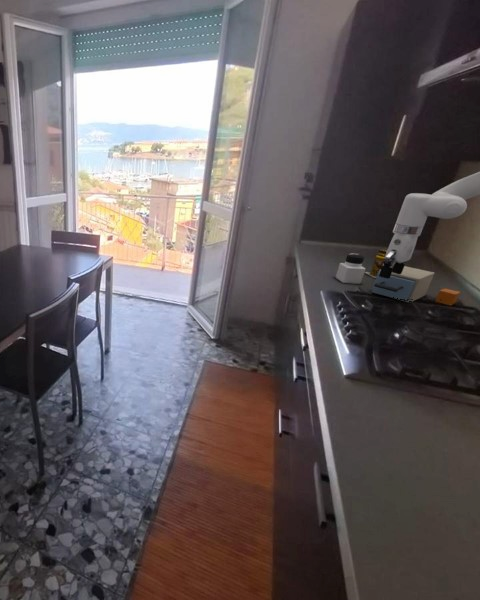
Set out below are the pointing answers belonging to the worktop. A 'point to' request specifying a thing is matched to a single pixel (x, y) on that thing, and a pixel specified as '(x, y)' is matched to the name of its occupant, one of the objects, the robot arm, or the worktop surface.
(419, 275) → the small drawer box
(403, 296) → the blue drawer
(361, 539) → the worktop surface
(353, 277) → the medicine bottle
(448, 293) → the orange cube
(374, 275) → the condiment
